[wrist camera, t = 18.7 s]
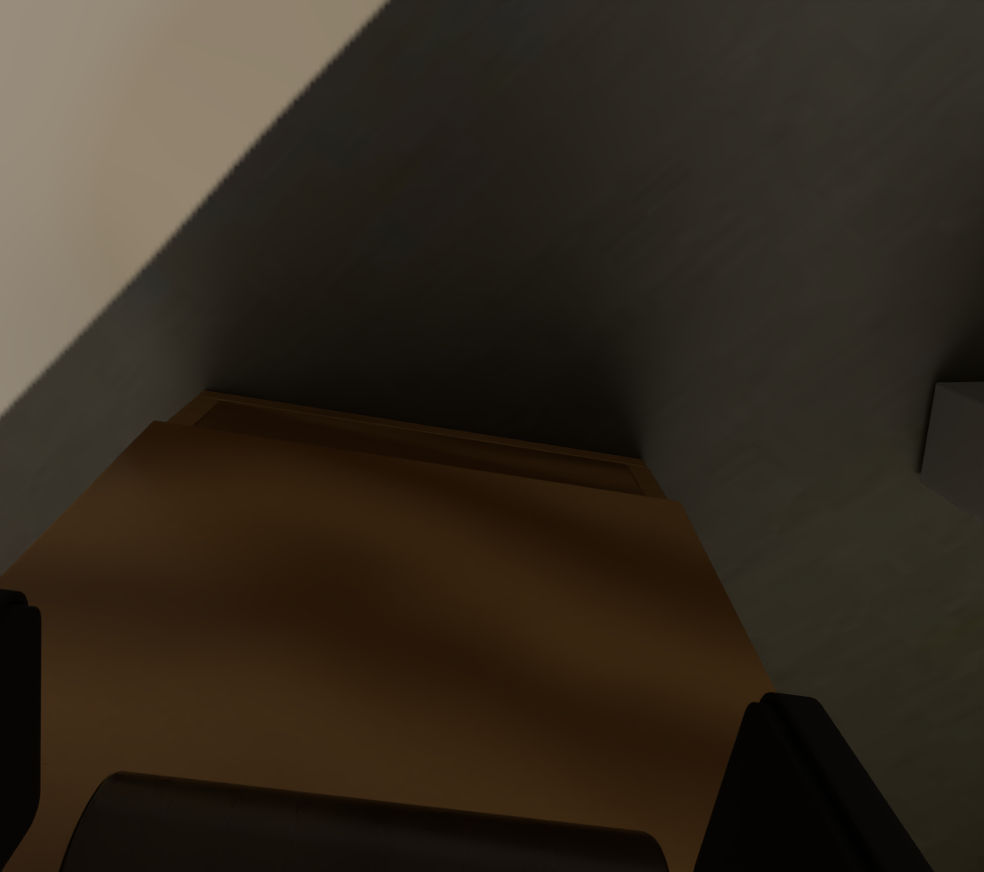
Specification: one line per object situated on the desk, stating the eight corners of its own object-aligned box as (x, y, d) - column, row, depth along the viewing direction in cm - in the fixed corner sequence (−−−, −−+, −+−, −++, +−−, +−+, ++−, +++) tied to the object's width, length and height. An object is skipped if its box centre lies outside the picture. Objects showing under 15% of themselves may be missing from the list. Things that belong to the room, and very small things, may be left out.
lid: (1120, 1487, 8) (1463, 1201, 6) (-729, 1407, 6) (-1115, 993, 4) (673, 523, 24) (721, 370, 23) (153, 444, 23) (156, 274, 21)
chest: (547, 841, 34) (559, 932, 30) (175, 799, 33) (134, 888, 29) (643, 459, 29) (673, 506, 25) (203, 389, 27) (158, 427, 23)
